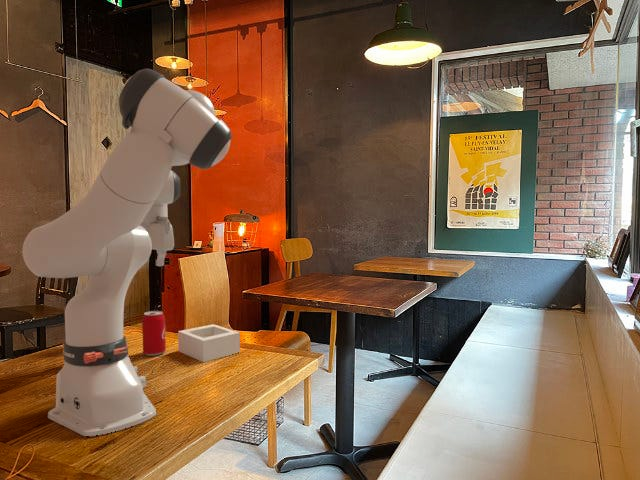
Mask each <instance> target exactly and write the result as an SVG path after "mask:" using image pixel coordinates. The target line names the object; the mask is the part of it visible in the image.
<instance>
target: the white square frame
mask: <svg viewBox="0 0 640 480" xmlns="http://www.w3.org/2000/svg"><path fill="white" fill-rule="evenodd" d="M177 332H178V333H177V337H178V338H177V339H178V341H177V342H178V343H177V344H178V347H177V348H178V352H179V353H182V354H184V355H186V356H188V357H191V358H193V359H196V360H197V361H199V362H202V363H207V362H211V361H215V360H218V359H222V358H226V357H230V356H233V355H232V354H234V355H236V354H235V353H238V352H240V353H241V341H240V340H241V335H240V334H241V333H240V332H239V331H235V330H233V329H230V328H226V327H223V326H221V325H217V324H213V323H212V324H208V325H203V326H198V327H192V328H188V329H183V330H178V331H177ZM238 354H239V353H238ZM229 355H230V356H229ZM225 356H226V357H225ZM221 357H222V358H221ZM214 359H215V360H214Z"/></svg>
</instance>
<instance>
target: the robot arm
mask: <svg viewBox="0 0 640 480" xmlns="http://www.w3.org/2000/svg"><path fill="white" fill-rule="evenodd" d="M214 107H215V106H214V105H213V102H212V101H211V100H210V99H209V97H207V96H206V95H205V94H203V93H201V92H199V91H197V90H193V89H187V90H186V89H183V88H182V87H181V86H179V85H177V84H176V83H174V82H173V81H171V80H169V79H167V78H166V76H165V75H164V74H162V73H160V72H158V71H156V70H153V69H151V68H143V69H139V70H138V71H136V72H135V73H134V74H133V75H132V76H129V78H128V79H127V80H126V82H124V85H123V87H122V89H121V92H120V94H119V98H118V108H119V113H120V115H121V117H122V121H121V123H122V126H123V128H124V129H125V130H128V129H129V128H130V127H131V130H130V131H129V132H128V133H127V134H126V135H125V136H124V137H123V138H122V139H121V140H120V141H119V142H118V144H117V145H116V146H115V148H114V149H113V150H112V152H111V153H110V155H109V156H108V157H107V159H106V160H105V162H104V164H103V166H102V167H101V169H100V172H99V173H98V174H97V177H96V178H95V180H94V182H93V184H92V185H91V187H90V189H89V190H88V192H87V193H86V195H85V196H84V197H83V198H82V199H81V200H80V201H79V202H78V203H76V204H75V206H73V207H72V208H70V209H69V210H68V211H66V212H65V213H64V214H62V215H60V216H59V217H57V218H56V219H53V220H52V221H50V222H47V223H46V224H43V225H41V226H38V227H34V228H33V229H31V231H30V232H29V233H28V234H27V236H25V239H24V241H23V243H22V244H23V245H22V258H23V262H24V264H25V265H26V267H27V269H28V270H29V271H31V273H33V274H34V275H35V276H37V277H38V278H39V277H40V278H53V279H69V278H78V277H87V276H89V277H88V281H87V283H86V285H85V286H84V287H83V289H82V290H81V291H80V292H78V293H77V294H75V295H74V296H73V297H71V298H70V300H68V302H67V304H66V305H65V309H64V311H65V319H64V324H65V325H64V326H65V328H64V330H65V342H64V343H63V349H62V353H63V360H64V362H65V363H64V364H63V366H62V368H61V369H60V370H59V371H58V373H57V374H56V380H55V381H56V383H55V384H56V385H55V386H56V387H55V407H53V408H52V409H50V410H49V411H48V413H47V418H48V419H49V420H51V421H52V422H55V423H57V424H58V425H61V426H63V427H65V428H67V429H69V430H70V431H73V432H74V433H77V434H79V435H81V436H83V437H86V436H89V437H97V436H96V435H98V436H103V435H106V434H107V433H108V434H111V432H112V433H115V431H116V432H119V431H123V430H125V428H126V429H128V428H131V426H132V427H134V426H137V425H140V424H142V423H144V422H146V421H149V420H150V419H151V418H152V419H153V417H155V416H156V415H157V409H156V408H155V406H154V404H152V402H151V401H150V400H149V398H148V397H147V395H146V394H145V392H144V388H145V387H146V386H147V378H146V376H145V375H141V376H139V375H138V366H134V365H133V363H132V362H131V359H130V357H129V356H128V355H129V350H128V347H129V346H128V342H127V339H126V336H125V334H124V333H125V332H124V314H125V312H124V311H125V310H124V308H125V300H126V296H127V292H128V290H129V286H130V284H131V282H132V280H133V279H134V276H135V275H136V274H137V272H138V271H140V269H141V267H143V266H144V265H145V264H149V263H150V256H151V254H152V250H153V251H154V250H155V251H156V254H157V259H155V266H157V267H163V266H165V258H166V256H167V252H168V251H173V249H174V248H175V237H174V228H173V226H172V224H171V221H169V219H168V217H169V215H168V213H169V212H168V205H170V204H173V203H175V202H176V201H177V200H178V199H179V198H180V196H181V178H180V176H178V174H177V173H176V172H175V171H174V170H172V167H177V166H178V167H179V166H185V165H188V164H189V165H191V166H193V167H196V168H198V169H201V170H207V169H211V168H212V167H214V166H215V165H217V164H218V163H220V162H221V161H222V160H223V159H224V158H225V157H226V155H227V154H228V153H229V150H230V147H231V146H230V145H231V142H232V141H231V140H232V139H233V136H232V131H231V129H230V128H229V127H228V125H227V124H226V123H225V122H224V121H223V119H219V118H218V117H217V116H216V110H215V108H214ZM102 434H103V435H102ZM108 434H107V435H108Z"/></svg>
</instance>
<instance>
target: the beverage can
mask: <svg viewBox="0 0 640 480" xmlns="http://www.w3.org/2000/svg"><path fill="white" fill-rule="evenodd" d="M141 322H142V323H141V324H142V325H141V327H142V329H141V331H142V332H141V333H142V352H143V354H144V355H145V356H149V357H150V356H151V357H156V356H160V355H162V354H164V353H165V352H166V349H167V347H166V343H167V341H166V317H165V315H164V312H163V311H161V310H151V311H150V310H149V311H146V312H144V313H143V316H142V319H141Z"/></svg>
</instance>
